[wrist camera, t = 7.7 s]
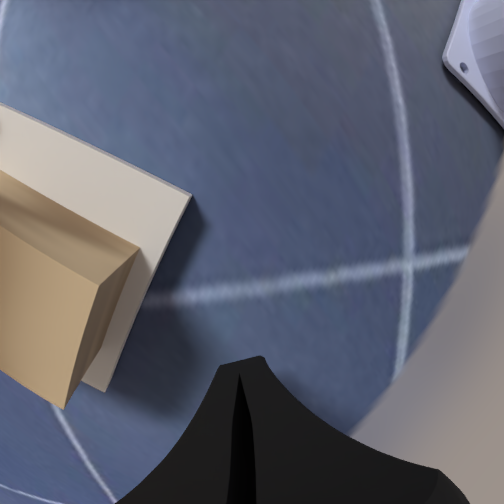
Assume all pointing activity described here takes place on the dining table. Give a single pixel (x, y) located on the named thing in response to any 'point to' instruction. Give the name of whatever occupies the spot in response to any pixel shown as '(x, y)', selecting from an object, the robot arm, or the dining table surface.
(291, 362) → the dining table surface
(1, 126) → the keyhole base
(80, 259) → the tan tapered block
